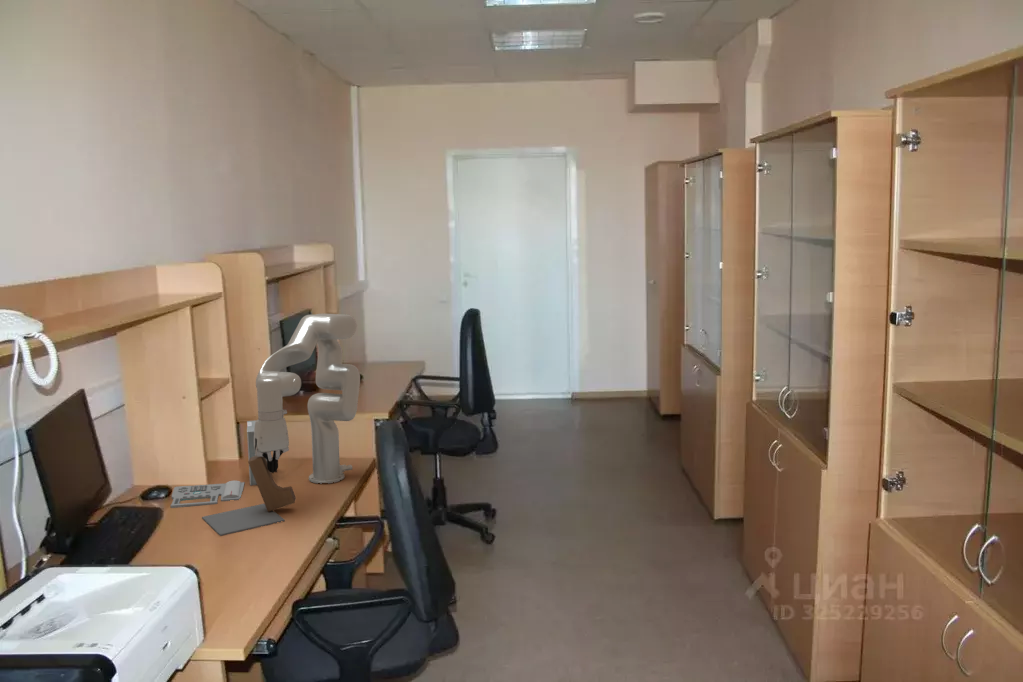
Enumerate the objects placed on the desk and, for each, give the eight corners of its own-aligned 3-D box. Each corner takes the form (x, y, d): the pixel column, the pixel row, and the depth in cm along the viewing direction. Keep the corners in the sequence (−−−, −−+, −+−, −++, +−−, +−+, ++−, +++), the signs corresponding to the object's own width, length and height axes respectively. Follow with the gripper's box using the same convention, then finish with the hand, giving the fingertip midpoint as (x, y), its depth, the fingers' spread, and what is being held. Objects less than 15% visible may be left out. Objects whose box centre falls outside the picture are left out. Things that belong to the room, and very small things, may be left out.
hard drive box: (249, 472, 302) (247, 420, 299) (271, 471, 305) (268, 419, 302) (249, 486, 288) (246, 431, 285) (272, 483, 290) (269, 429, 287)
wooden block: (296, 498, 266) (276, 448, 262) (295, 503, 261) (275, 452, 258) (269, 507, 265) (249, 457, 261) (267, 512, 261) (247, 461, 257)
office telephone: (244, 478, 291) (241, 496, 272) (244, 485, 291) (242, 504, 272) (174, 482, 284) (166, 502, 265) (174, 490, 285) (167, 509, 266)
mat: (264, 505, 269) (264, 503, 269) (284, 521, 255) (284, 519, 255) (202, 518, 257) (201, 516, 257) (220, 536, 243) (220, 534, 243)
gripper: (288, 410, 264) (290, 464, 267) (242, 416, 255) (245, 473, 258) (297, 414, 258) (300, 470, 261) (251, 421, 250) (254, 479, 252)
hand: (272, 471), depth 260 cm, fingers closed
